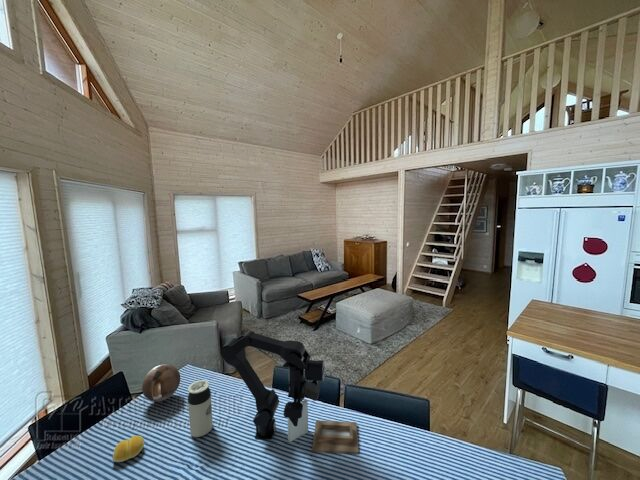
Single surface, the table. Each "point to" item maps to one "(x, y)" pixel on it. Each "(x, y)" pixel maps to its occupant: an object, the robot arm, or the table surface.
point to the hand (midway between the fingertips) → (297, 416)
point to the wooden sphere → (161, 382)
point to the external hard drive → (299, 424)
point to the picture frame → (335, 437)
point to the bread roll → (128, 448)
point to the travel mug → (200, 408)
